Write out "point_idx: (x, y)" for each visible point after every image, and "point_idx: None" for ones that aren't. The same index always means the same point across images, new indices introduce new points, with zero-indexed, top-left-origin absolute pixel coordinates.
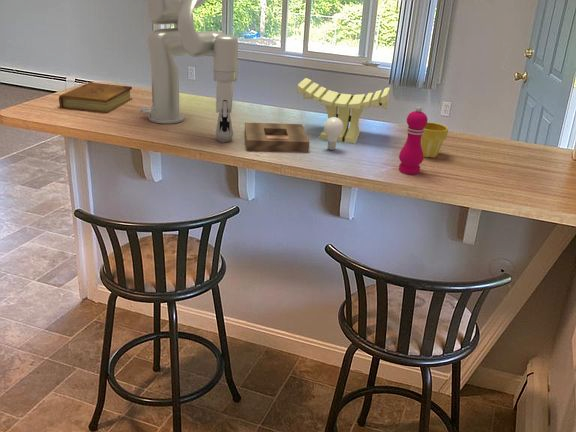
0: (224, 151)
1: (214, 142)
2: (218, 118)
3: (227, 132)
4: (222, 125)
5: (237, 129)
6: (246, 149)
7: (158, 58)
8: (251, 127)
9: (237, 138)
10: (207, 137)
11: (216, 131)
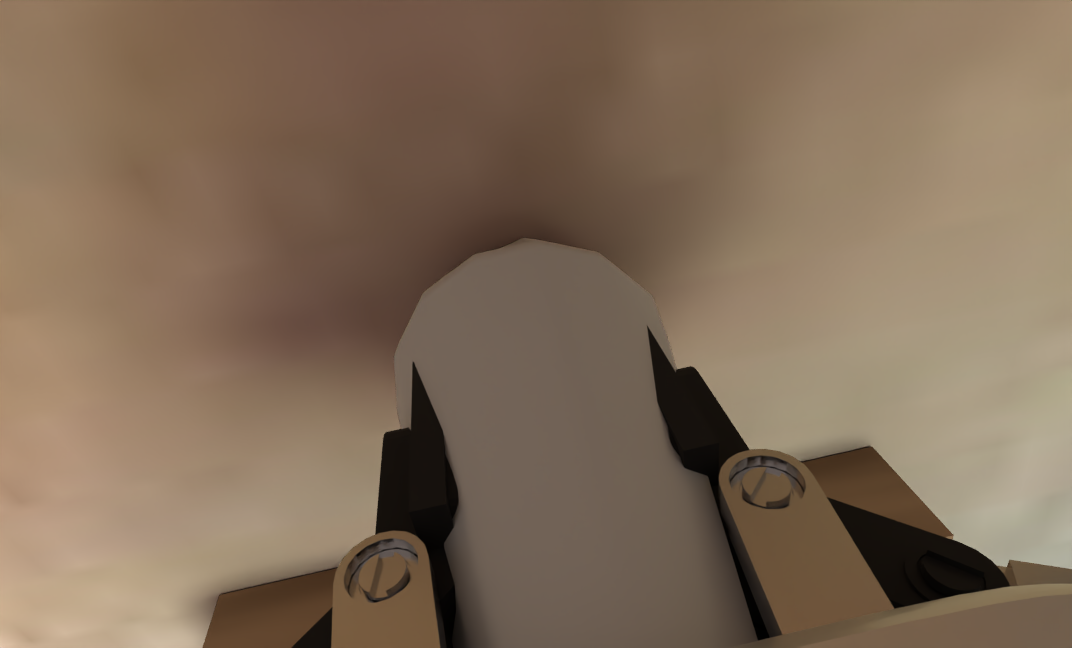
0: (50, 418)
1: (387, 213)
2: (584, 466)
3: None
4: (379, 509)
5: (983, 361)
6: (223, 603)
7: None
8: None
9: None
10: (612, 49)
11: (470, 294)
